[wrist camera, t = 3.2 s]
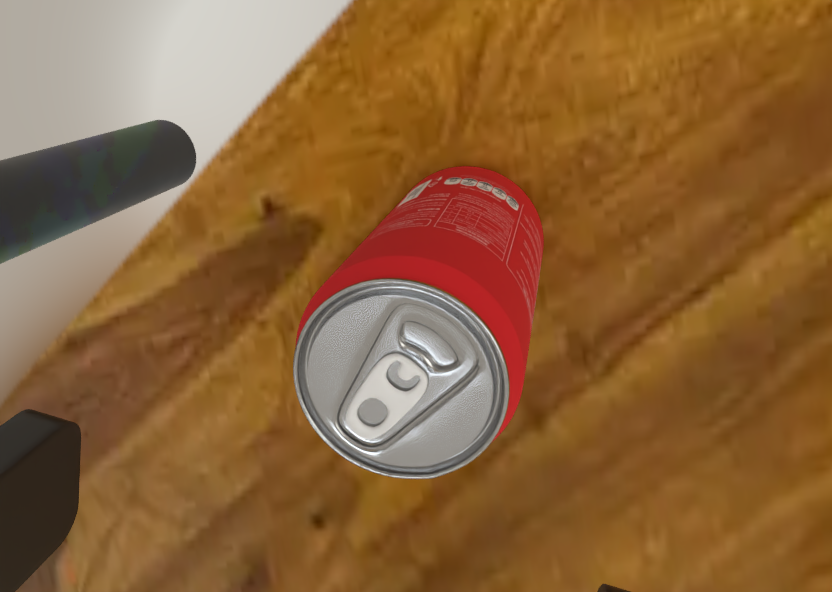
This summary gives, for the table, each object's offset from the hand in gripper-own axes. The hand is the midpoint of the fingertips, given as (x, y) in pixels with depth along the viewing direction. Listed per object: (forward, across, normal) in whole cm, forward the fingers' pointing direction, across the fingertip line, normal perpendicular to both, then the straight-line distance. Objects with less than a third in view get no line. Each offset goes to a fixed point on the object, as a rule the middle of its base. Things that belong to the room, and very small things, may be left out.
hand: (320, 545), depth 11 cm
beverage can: (+18, 0, 0) cm, 18 cm away
